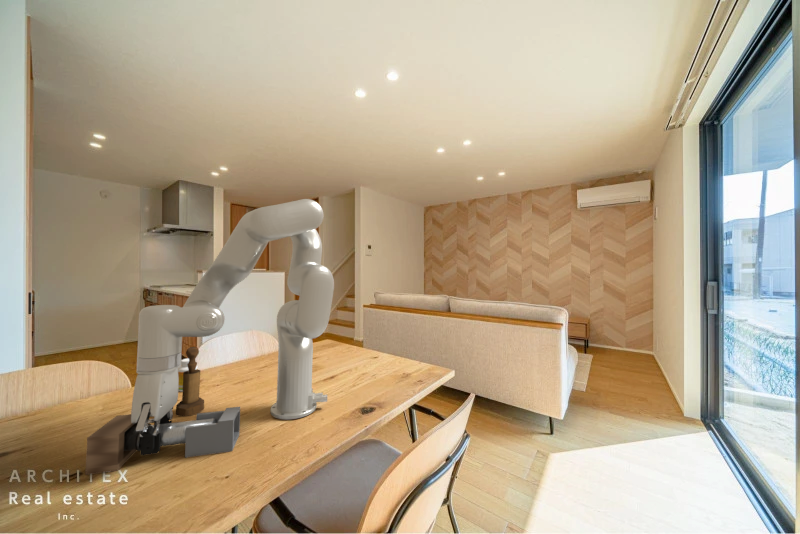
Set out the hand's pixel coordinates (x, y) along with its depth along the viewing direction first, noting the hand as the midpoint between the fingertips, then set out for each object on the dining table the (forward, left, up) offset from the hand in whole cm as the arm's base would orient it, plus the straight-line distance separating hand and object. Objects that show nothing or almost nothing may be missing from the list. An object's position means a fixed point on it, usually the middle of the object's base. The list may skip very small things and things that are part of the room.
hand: (156, 445), depth 63 cm
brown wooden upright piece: (0, -20, -2) cm, 20 cm away
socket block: (+7, 0, -2) cm, 7 cm away
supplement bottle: (+8, -38, -2) cm, 39 cm away
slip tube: (-2, 0, 0) cm, 2 cm away
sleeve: (-11, 0, -2) cm, 11 cm away
